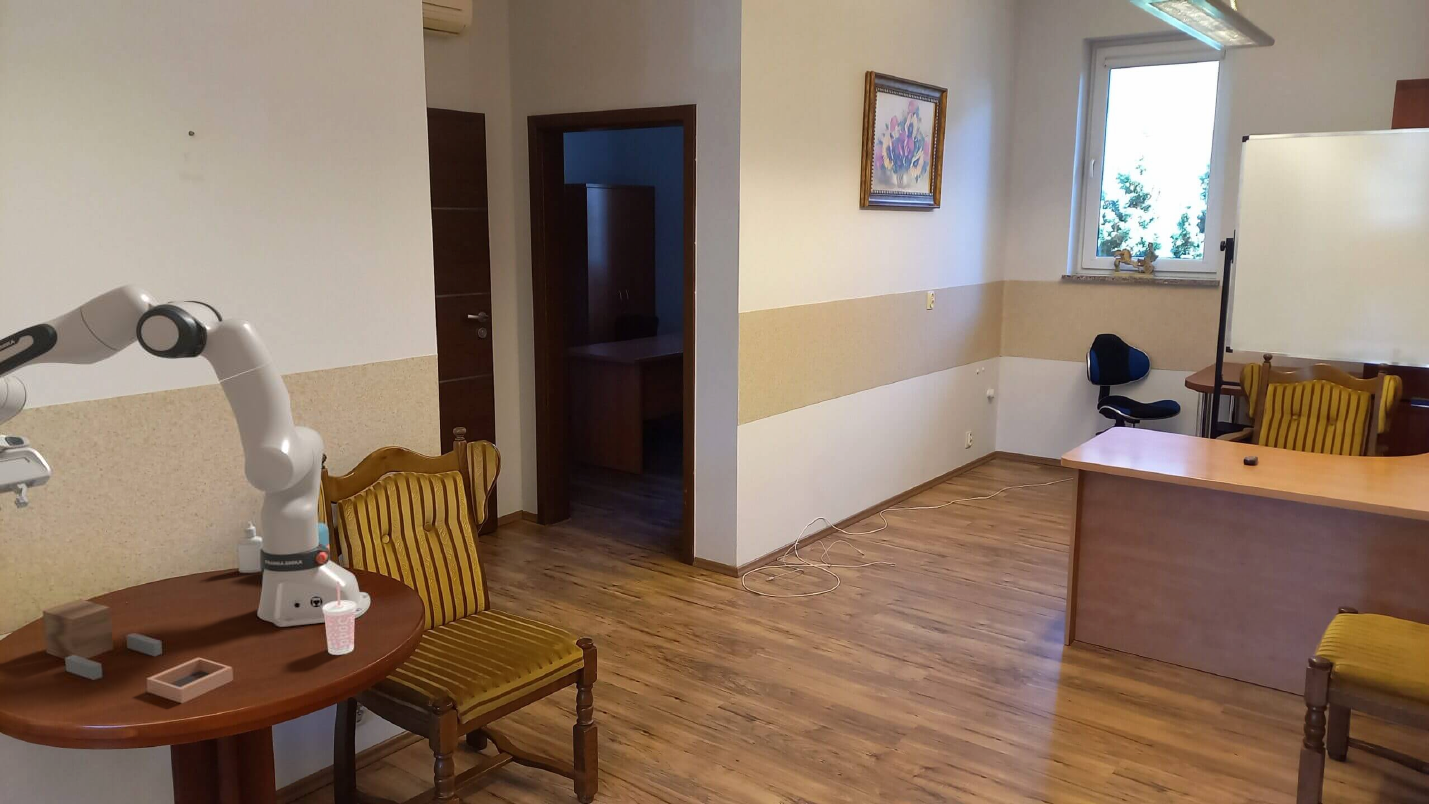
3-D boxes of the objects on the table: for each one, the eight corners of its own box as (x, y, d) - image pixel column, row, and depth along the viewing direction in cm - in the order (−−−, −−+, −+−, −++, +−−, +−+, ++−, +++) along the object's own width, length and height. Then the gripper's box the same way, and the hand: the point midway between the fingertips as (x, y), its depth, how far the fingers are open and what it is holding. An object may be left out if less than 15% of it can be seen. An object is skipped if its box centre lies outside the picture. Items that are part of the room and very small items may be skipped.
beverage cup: (324, 658, 185) (321, 588, 182) (323, 646, 190) (320, 577, 188) (358, 653, 187) (356, 584, 185) (356, 641, 193) (354, 574, 190)
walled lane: (66, 670, 177) (65, 657, 176) (134, 645, 188) (134, 632, 188) (94, 680, 173) (92, 667, 173) (162, 653, 185) (161, 641, 185)
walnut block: (46, 653, 184) (42, 610, 183) (83, 640, 190) (80, 599, 189) (76, 662, 180) (72, 619, 179) (113, 649, 187) (109, 607, 185)
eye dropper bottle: (257, 574, 229) (254, 525, 227) (235, 572, 230) (232, 524, 228) (268, 568, 233) (265, 520, 231) (247, 566, 234) (244, 518, 232)
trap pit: (147, 691, 170) (146, 678, 169) (199, 670, 178) (198, 657, 178) (182, 703, 166) (181, 689, 165) (233, 680, 175) (232, 667, 174)
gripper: (-81, 454, 181) (-45, 512, 178) (35, 435, 199) (68, 488, 197) (-91, 474, 184) (-57, 532, 181) (24, 454, 202) (57, 506, 199)
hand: (9, 509), depth 189 cm, fingers open, 4 cm apart
